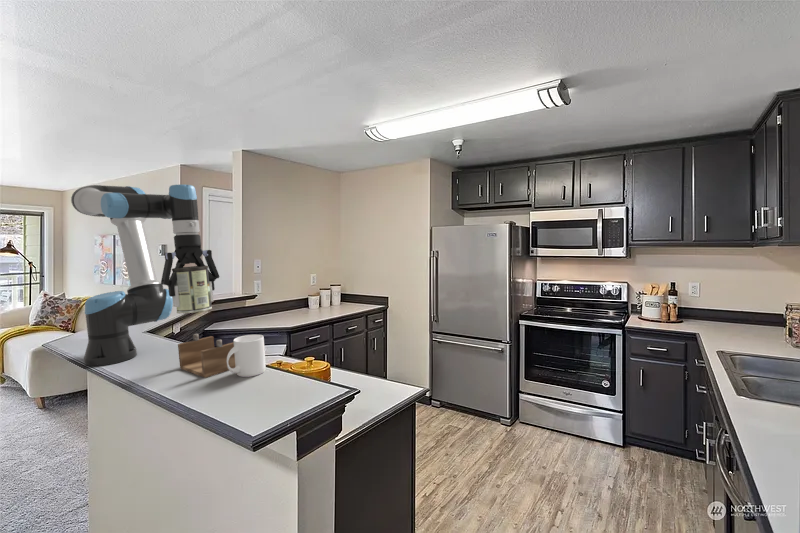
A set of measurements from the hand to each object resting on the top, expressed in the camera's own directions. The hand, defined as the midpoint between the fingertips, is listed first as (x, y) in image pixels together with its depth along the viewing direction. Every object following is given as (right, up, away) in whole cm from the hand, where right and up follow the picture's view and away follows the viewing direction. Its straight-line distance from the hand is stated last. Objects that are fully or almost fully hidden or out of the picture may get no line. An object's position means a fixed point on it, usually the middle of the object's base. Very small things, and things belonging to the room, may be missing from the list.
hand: (193, 303), depth 131 cm
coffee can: (0, -2, 0) cm, 2 cm away
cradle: (+5, -21, -1) cm, 21 cm away
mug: (+20, -21, -8) cm, 30 cm away
